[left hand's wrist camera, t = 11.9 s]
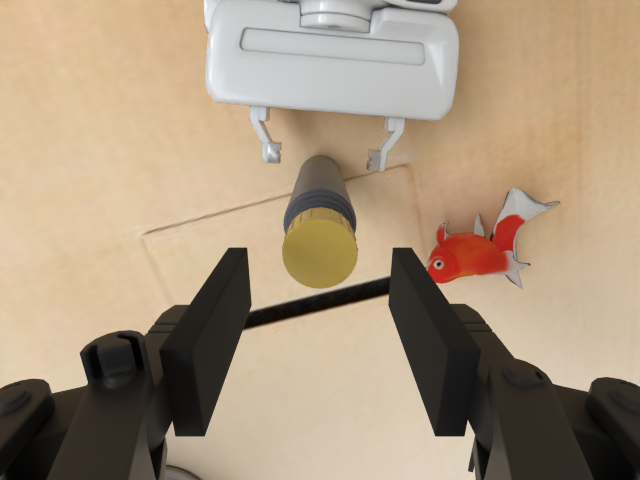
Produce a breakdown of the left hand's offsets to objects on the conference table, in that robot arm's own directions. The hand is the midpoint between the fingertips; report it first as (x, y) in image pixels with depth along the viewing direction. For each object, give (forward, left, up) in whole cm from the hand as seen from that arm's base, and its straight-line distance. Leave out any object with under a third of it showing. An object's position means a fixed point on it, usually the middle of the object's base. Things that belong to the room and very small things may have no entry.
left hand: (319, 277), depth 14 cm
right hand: (+2, 0, -18) cm, 19 cm away
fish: (+1, -19, -25) cm, 31 cm away
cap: (0, 0, -3) cm, 3 cm away
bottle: (0, 0, -25) cm, 25 cm away
